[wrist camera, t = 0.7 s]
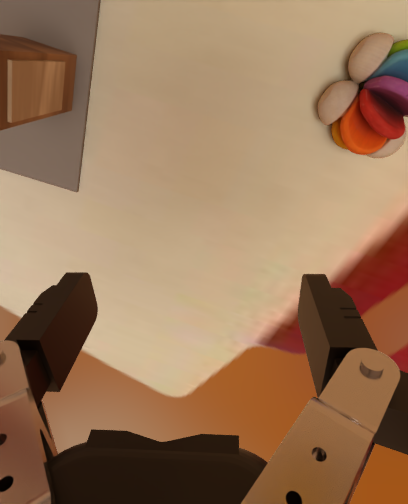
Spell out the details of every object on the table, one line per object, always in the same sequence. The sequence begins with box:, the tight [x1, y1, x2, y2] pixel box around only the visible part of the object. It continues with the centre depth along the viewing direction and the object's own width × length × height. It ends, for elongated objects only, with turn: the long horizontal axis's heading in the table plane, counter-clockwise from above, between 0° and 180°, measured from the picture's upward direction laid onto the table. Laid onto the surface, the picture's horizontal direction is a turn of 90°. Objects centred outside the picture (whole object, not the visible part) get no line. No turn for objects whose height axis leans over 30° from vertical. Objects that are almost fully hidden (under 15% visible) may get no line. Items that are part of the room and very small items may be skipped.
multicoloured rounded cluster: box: [318, 33, 408, 158], centre depth 29 cm, size 8×10×7 cm
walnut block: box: [0, 34, 77, 131], centre depth 27 cm, size 5×5×12 cm
